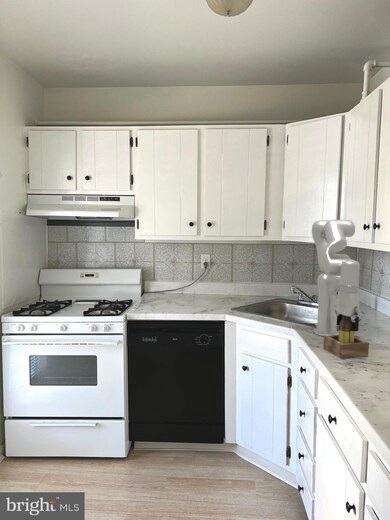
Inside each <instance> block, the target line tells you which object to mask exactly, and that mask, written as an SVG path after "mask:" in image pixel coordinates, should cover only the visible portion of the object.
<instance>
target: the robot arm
mask: <svg viewBox="0 0 390 520" xmlns="http://www.w3.org/2000/svg"><path fill="white" fill-rule="evenodd" d="M355 233H356V225H355V222H354V221H352V220H350V219H329V220H327V219H325V220H324V219H323V220H317V221H315V222H313V224H312V227H311V235H312V240H313V242H314V243H315V246H316V250H317V251H316V254H317V262H318V268H319V270H320V271H322V273H321V274H319V275H318V276H317V280H316V282H317V289H318V299H317V301H318V303H317V320H316V322H315V323H314V326H316V328H314V329H313V333H314V334H315V335H318V336H321V337H324V336H330V335H339V330H337V329H338V327H339V324H340V321H341V319H342V315H344V316H347V317H350V316H351V320H352V322H351V331H354V332H358V331H359V324H360V322H361V320H362V318H363V316H364V314H363V313H364V312H362V310H360V296H359V295H360V294H359V287H360V268H361V266H360V262H359V261H356V260H354V259H351V257H350V256H349V255H348V254H347V253H345V254H344V253H339V252H341V251H343V250H344V249H345V248H346V247H347V245H348V240H347V238H350V237H353V236H354V235H355ZM334 293H337V296H336V295H335V294H334Z"/></svg>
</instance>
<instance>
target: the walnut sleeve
mask: <svg viewBox="0 0 390 520" xmlns="http://www.w3.org/2000/svg"><path fill="white" fill-rule="evenodd" d="M369 348H370V343H369V342H368V341H366V340H364V339H361V338H359V337H357V336H354V343H347V344H343V343H341V342H339V335H330V336H323V350H325V351H327V352H328V353H330V354H333V355H334V356H335V357H337V358H339V359H342V360H345V359H357V358H369V350H370V349H369Z"/></svg>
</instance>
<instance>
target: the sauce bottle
mask: <svg viewBox="0 0 390 520" xmlns="http://www.w3.org/2000/svg"><path fill="white" fill-rule="evenodd" d="M351 322H353V321H352V319H351V316H350V317H347V316H344V315H342V319H341V321H340V324H339V326H338V331H339V342H341V343H343V344H347V343H354V337H355V336H354V335H355V331H351Z"/></svg>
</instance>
